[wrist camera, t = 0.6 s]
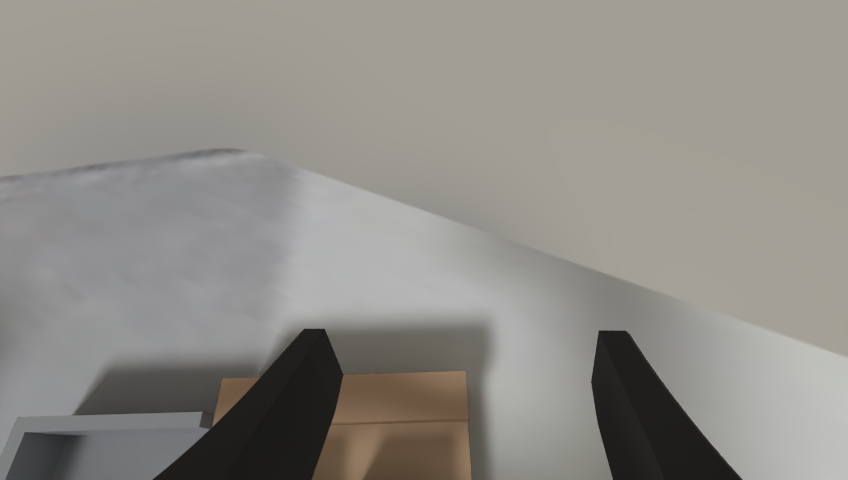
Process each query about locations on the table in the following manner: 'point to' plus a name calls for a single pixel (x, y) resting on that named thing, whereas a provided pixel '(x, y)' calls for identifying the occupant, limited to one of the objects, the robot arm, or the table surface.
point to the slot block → (388, 426)
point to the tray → (99, 445)
